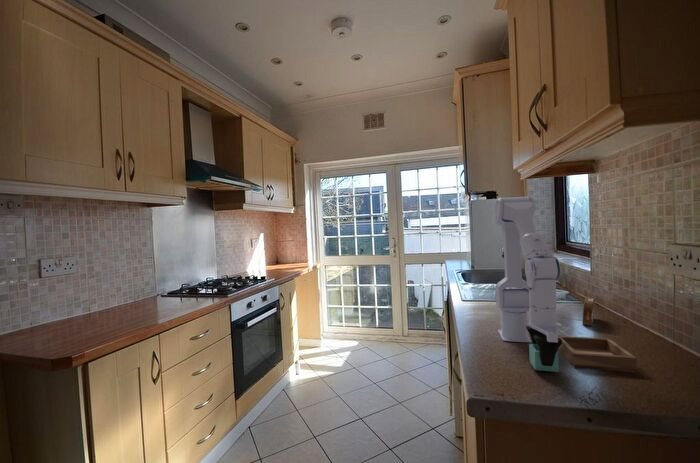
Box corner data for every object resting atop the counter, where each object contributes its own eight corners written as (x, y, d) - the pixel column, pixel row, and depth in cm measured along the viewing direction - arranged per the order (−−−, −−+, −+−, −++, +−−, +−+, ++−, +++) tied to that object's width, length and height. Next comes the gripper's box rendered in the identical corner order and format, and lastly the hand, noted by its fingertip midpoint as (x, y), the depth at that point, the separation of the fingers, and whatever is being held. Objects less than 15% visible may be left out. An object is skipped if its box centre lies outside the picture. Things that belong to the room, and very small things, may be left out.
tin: (585, 316, 121) (584, 294, 120) (595, 317, 119) (595, 295, 118) (581, 327, 109) (581, 302, 109) (593, 329, 107) (593, 304, 107)
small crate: (529, 361, 83) (529, 343, 83) (551, 362, 82) (551, 345, 82) (535, 369, 78) (534, 351, 78) (558, 371, 77) (558, 353, 77)
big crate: (555, 347, 93) (555, 335, 93) (609, 351, 90) (608, 338, 90) (574, 367, 81) (574, 354, 80) (636, 372, 77) (636, 358, 77)
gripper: (573, 315, 72) (573, 375, 72) (551, 299, 86) (551, 349, 86) (537, 313, 73) (538, 372, 74) (521, 298, 87) (522, 348, 88)
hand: (543, 360), depth 80 cm, fingers closed on small crate, 5 cm apart
